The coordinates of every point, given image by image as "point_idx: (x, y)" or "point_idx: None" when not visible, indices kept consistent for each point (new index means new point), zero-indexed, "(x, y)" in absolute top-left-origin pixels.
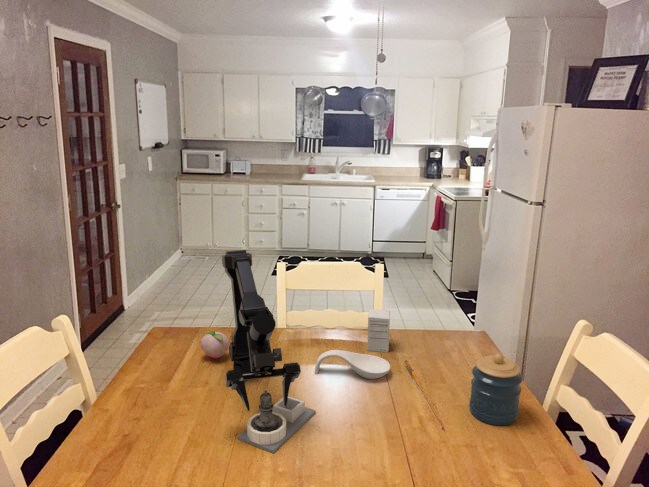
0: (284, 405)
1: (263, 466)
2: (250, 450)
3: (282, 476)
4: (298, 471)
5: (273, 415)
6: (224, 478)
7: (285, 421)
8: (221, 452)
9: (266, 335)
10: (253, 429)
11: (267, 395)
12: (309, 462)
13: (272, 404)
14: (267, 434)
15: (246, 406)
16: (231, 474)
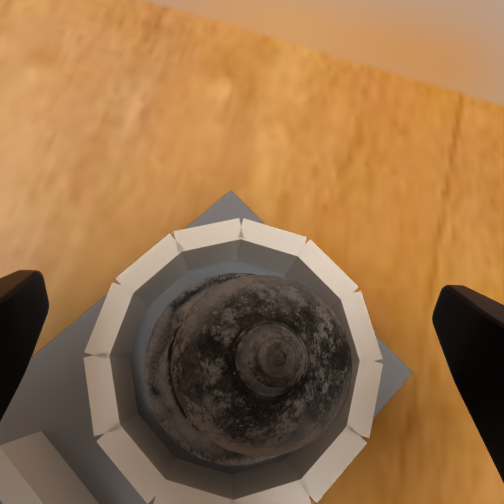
0: (45, 303)
1: (293, 127)
2: (341, 254)
3: (225, 49)
4: (150, 55)
5: (171, 405)
6: (461, 108)
7: (96, 329)
8: (485, 280)
9: None
10: (343, 296)
11: (248, 307)
12: (80, 90)
13: (170, 385)
14: (257, 224)
15: (500, 306)
16: (433, 121)
